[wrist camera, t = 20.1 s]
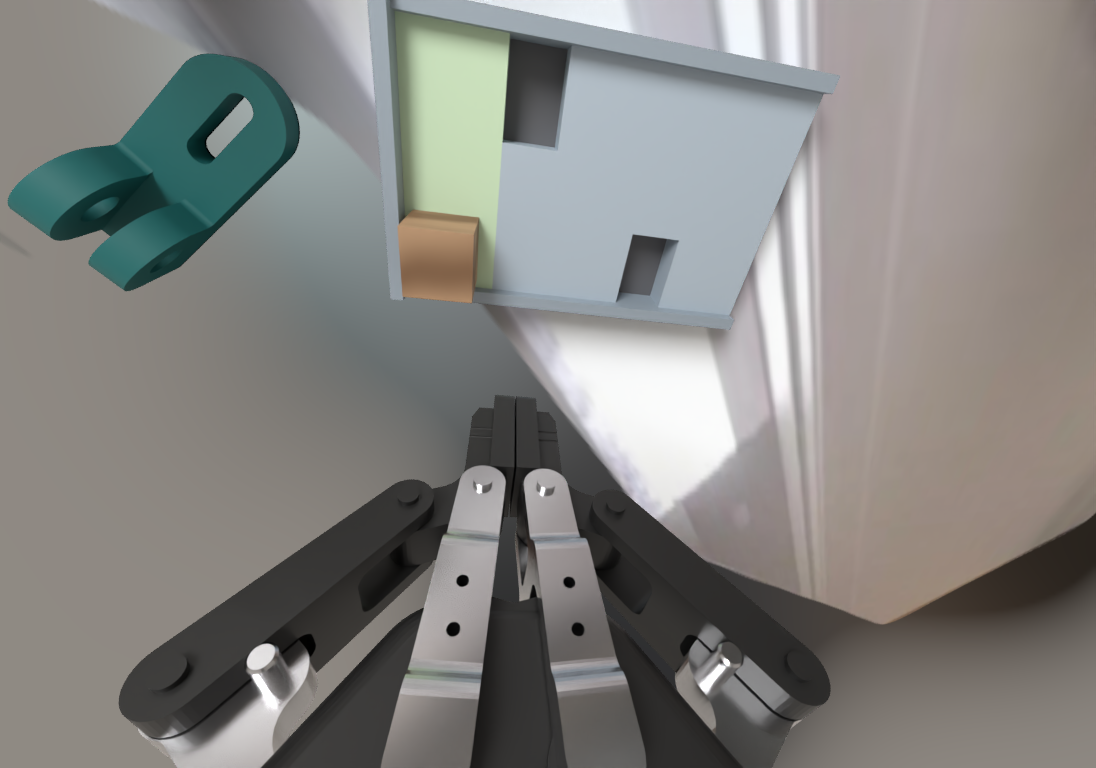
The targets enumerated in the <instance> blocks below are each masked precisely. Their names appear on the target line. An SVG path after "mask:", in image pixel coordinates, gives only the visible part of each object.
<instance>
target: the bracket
mask: <svg viewBox="0 0 1096 768" xmlns="http://www.w3.org/2000/svg"><path fill="white" fill-rule="evenodd" d="M244 97H245V98H246V99H247V100H248V101H249V102H250V104H251V105H252V108H253V112H254V114H253V118H252V120H251V121H250V122H249V123H248V124H247V125H246V127H244V128H243V130H242V131H241V132H240V133H239V134H238V135H237V136H236V137H235V138H234V139H233V140H232V141H231V142H230V144H228V145H227V147H226V148H225V149H224V150H223V151H222V152H221V153H220V154H219V155H218V156H217V157H216V158H215V157H214V156H213V155H212V154H211V153H210V152H209V150H208V148H207V145H206V141H207V138H208V137H209V136H210V135H211V134H212V133H213V131H214V130H215V129H216V128H217V127H218V126H219V125H220V124H221V123H222V122H223V121H224V119H225V118H226V117H227V116H228V115H229V114H230V113H231V112H232V111H233V110H234V108H235V107H236V106H237V105H238V104H239V103H240V102H241V101H242V100H243V98H244ZM299 139H300V126H299V120H298V116H297V113H296V110H295V108H294V105H293V103H292V101H291V100H289V98H288V96H287V95H286V93H285V92H284V90H283V89H282V88H281V86H280V85H279V84H278V83H277V82H276V81H275V80H274V79H273V78H272V77H271V76H270V75H269V74H268V73H267V72H266V71H264V70H263V69H262V68H260V67H258V66H257V65H255V64H253V63H251V62H249V61H247V60H244V59H241V58H237V57H231V56H224V55H218V54H201V55H197V56H194V57H192V58H190V59H189V60H188V61H186V62H185V63H184V64H183V65H182V67H181V68H180V69H179V70H178V72H177V73H176V74H175V75H174V76H173V77H172V79H171V80H170V81H169V82H168V84H167V85H166V86H165V87H164V89H163V90H162V91H161V92H160V93H159V94H158V96H157V97H156V98H155V99H154V101H153V102H152V103H151V104H150V105H149V107H148V108H147V109H146V110H145V112H144V113H143V114H142V115H141V116H140V118H139V119H138V120H137V121H136V122H135V124H134V125H133V126H132V128H130V130H129V131H128V132H127V133H126V134H125V136H124V137H123V138H122V139H121V141H120V142H118V143H117V144H115V145H109V146H100V147H91V148H85V149H79V150H76V151H72V152H69V153H67V154H64V155H61V156H59V157H57V158H55V159H53V160H51V161H49V162H47V163H45V164H43V165H42V166H40V167H38V168H37V169H35V170H34V171H32V172H31V173H30V174H28V175H27V176H26V177H25V178H23V179H22V180H21V181H20V182H19V183H18V184H17V185H16V186H15V188H14V189H13V190H12V192H11V194H10V195H9V198H8V206H9V207H10V209H12V210H13V211H15V212H16V213H17V214H19V215H20V216H21V217H23V218H24V219H26V220H27V221H28V222H30V223H31V224H33V225H34V226H35V227H37V228H38V229H40V230H41V231H42V232H44V233H45V234H46V235H48V236H49V237H51V238H52V239H54V240H59V241H62V240H69V239H73V238H76V237H80V236H83V235H86V234H89V233H92V232H96V231H99V230H103V231H104V232H106V233H107V234H108V235H109V236H111V237H109V238H108V239H107V240H106V241H105V242H104V243H102V244H101V245H100V246H99V247H98V248H97V250H96V251H95V252H94V253H93V254H92V256H91V257H90V260H89V265H90V266H91V267H93V268H94V269H95V270H97V271H98V272H99V273H101V274H102V275H104V276H105V277H106V278H108V279H109V280H110V281H112V282H113V283H115V284H116V285H117V286H119V287H120V288H122V289H123V290H125V291H131V290H134V289H136V288H138V287H141V286H143V285H145V284H146V283H149V282H151V281H153V280H155V279H157V278H159V277H161V276H163V275H165V274H167V273H169V272H171V271H173V270H175V269H177V268H179V267H180V266H182V265H183V264H184V263H185V262H186V261H187V260H188V259H189V258H190V257H191V256H192V255H193V254H194V253H195V252H196V251H197V250H198V249H199V248H200V247H201V246H202V245H203V244H204V243H205V242H206V241H207V240H208V239H209V238H210V237H211V236H212V235H213V234H214V233H215V232H216V231H217V230H218V229H219V228H220V227H221V226H222V225H223V224H224V223H225V222H226V221H227V220H228V219H230V217H231V216H233V215H234V214H235V213H236V212H237V211H238V210H239V209H240V208H241V207H242V206H243V205H244V204H245V203H246V202H247V201H248V200H249V199H250V198H251V197H252V196H253V195H254V194H255V193H256V192H257V191H258V190H259V189H260V188H261V187H262V186H263V185H264V184H265V183H266V182H267V181H268V180H269V179H270V178H271V177H272V176H273V175H274V174H275V173H276V172H277V171H278V170H279V169H280V168H281V167H282V166H283V165H284V164H286V162H287V161H288V160H289V159H291V157H292V156H293V155H294V153H295V152H296V150H297V147H298V144H299Z"/></svg>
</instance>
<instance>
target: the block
mask: <svg viewBox="0 0 1096 768" xmlns="http://www.w3.org/2000/svg"><path fill="white" fill-rule="evenodd" d="M397 227H398V241H399V255H400V269H401V283H402V297H411V298H422V299H432V300H443V301H454V302H464V303H472V300H473V295H474V291H475V286H476V282H477V265H478V237H479V217H471V216H463V215H455V214H446V213H438V212H430V211H422V210H412V211H411V212H410V213H409V214H408V215H407V216H406V217H405V218H404V219H403V220H402V222H401V223H400V224H399V225H398V226H397Z"/></svg>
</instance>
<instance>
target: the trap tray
mask: <svg viewBox="0 0 1096 768" xmlns="http://www.w3.org/2000/svg"><path fill="white" fill-rule="evenodd" d="M368 13H369V26H370V39H371V52H372V64H373V77H374V90H375V103H376V116H377V129H378V142H379V155H380V168H381V181H382V193H383V207H384V220H385V233H386V246H387V259H388V272H389V284H390V297H391V299H394V300H404V298H405V297H402V283H401V269H400V255H399V241H398V227H397V226H398V225H399V224H400V223H401V222H402V220H403V219H404V218H405V217H406V216H407V215H408V214H409V213H410V212H411V211H412V210H422V211H430V212H438V213H446V214H455V215H463V216H471V217H479V237H478V265H477V282H476V286H475V291H474V295H473V300H472V303H481V304H490V305H500V306H509V307H519V308H528V309H538V310H547V311H557V312H566V313H576V314H585V315H595V316H604V317H614V318H623V319H633V320H642V321H652V322H661V323H671V324H680V325H690V326H699V327H709V328H718V329H728V330H730V329H731V326H732V324H733V322H734V319H733V318H732V317H731V316H730V313H731V311H732V308H733V306H734V304H735V301H736V299H737V297H738V294H739V292H740V290H741V287H742V285H743V282H744V280H745V278H746V275H747V273H748V271H749V268H750V266H751V264H752V261H753V259H754V257H755V254H756V252H757V250H758V247H759V245H760V242H761V240H762V238H763V235H764V233H765V231H766V228H767V226H768V224H769V221H770V219H771V217H772V214H773V212H774V210H775V207H776V205H777V202H778V200H779V198H780V195H781V193H782V191H783V188H784V186H785V184H786V181H787V179H788V177H789V174H790V172H791V170H792V167H793V165H794V162H795V160H796V158H797V155H798V153H799V151H800V148H801V146H802V144H803V141H804V139H805V137H806V134H807V132H808V130H809V127H810V125H811V122H812V120H813V118H814V115H815V113H816V111H817V108H818V106H819V104H820V101H821V99H822V97H823V94H833V92H834V90H835V87H836V85H837V83H838V80H839V78H840V76H839V75H834V74H830V73H825V72H820V71H815V70H810V69H805V68H800V67H795V66H790V65H785V64H780V63H775V62H770V61H765V60H760V59H755V58H750V57H745V56H740V55H736V54H731V53H726V52H721V51H716V50H711V49H706V48H701V47H696V46H691V45H686V44H681V43H676V42H671V41H666V40H661V39H656V38H651V37H646V36H642V35H637V34H632V33H627V32H622V31H617V30H612V29H607V28H602V27H597V26H592V25H587V24H582V23H577V22H572V21H567V20H562V19H557V18H552V17H548V16H543V15H538V14H533V13H528V12H523V11H518V10H513V9H508V8H503V7H498V6H493V5H488V4H483V3H478V2H473V1H468V0H368Z"/></svg>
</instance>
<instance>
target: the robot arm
mask: <svg viewBox="0 0 1096 768" xmlns="http://www.w3.org/2000/svg"><path fill="white" fill-rule="evenodd" d="M509 503H510V517H517V529H516V535H515V544H516V556H517V566H518V567H517V568H518V579H519V593H520V601H519V602H508V601H504V600H501V599H498V598H494V597H492V590H493V582H494V574H495V566H496V558H497V550H498V542H499V536H500V535H501V532H502V526H503V518H504V517H508V510H509ZM433 560H436V564H435V567H434V571H433V575H432V579H431V583H430V587H429V590H428V594H427V598H426V603H425V606H424V608H422V609H420V610H418V611H416V612H414V613H412V614H410V615H409V616H408V617H406V618H404V619H403V620H402V621H401V622H399V623H398V624H397V625H396V626H395V627H394V628H392V630H390V631H389V633H387V635H386V636H385V637H384V638H383V639H382V640H381V641H380V642H379V643H378V644H377V645H376V646H375V647H374V648H373V649H372V650H371V652H370V653H369V654H368V655H367V656H366V657H365V658H364V659H363V660H362V661H361V662H360V663H359V664H358V665H357V666H356V667H355V668H354V669H353V671H352V672H351V673H350V674H349V675H348V676H347V677H346V678H345V679H344V680H343V681H342V682H341V683H340V684H339V685H338V686H337V687H336V688H335V690H334V691H333V692H332V693H331V694H330V695H329V696H328V697H327V698H326V699H325V700H324V701H323V702H322V703H321V704H320V705H319V707H318V708H317V709H316V710H315V711H314V712H313V713H312V714H311V715H310V716H309V717H308V718H307V719H306V720H305V721H304V722H303V723H302V724H301V726H300V727H299V728H298V729H297V730H296V731H295V732H294V733H293V734H292V735H291V736H290V737H289V735H290V733H291V731H292V729H293V728H294V726H295V725H296V723H297V722H298V721H299V719H300V718H301V717H302V716H303V714H304V713H305V712H306V711H307V709H308V708H309V706H310V705H311V703H312V701H313V699H314V697H315V694H316V691H317V684H318V679H317V674H316V673H317V672H318V671H319V670H320V669H321V668H322V667H323V666H324V665H325V664H326V663H327V662H329V660H331V659H332V658H333V657H334V656H335V655H336V654H337V653H338V652H339V651H340V650H341V649H342V648H343V647H344V646H346V645H347V644H348V643H349V642H350V641H351V640H352V639H353V638H354V637H355V636H356V635H357V634H358V633H359V632H360V631H361V630H363V629H364V628H365V627H366V626H367V625H368V624H369V623H370V622H371V621H372V620H373V619H374V618H375V617H376V616H378V615H379V614H380V613H381V612H382V611H383V610H384V609H385V608H386V607H387V606H388V605H389V604H390V603H391V602H392V601H393V600H394V599H396V598H397V597H398V596H399V595H400V594H401V593H402V592H403V591H404V590H405V589H406V588H407V587H408V586H409V585H410V584H412V583H413V582H414V581H415V580H416V579H417V578H418V577H419V576H420V575H421V574H422V573H423V572H424V571H425V570H426V569H428V567H429V566H430V565H431V564H432V562H433ZM600 592H601V593H602V594H603V595H604V596H605V597H606V598H607V599H608V600H609V601H610V603H611V604H612V605H613V606H614V607H615V608H616V609H617V610H618V611H619V612H620V613H621V614H622V615H623V616H624V618H625V619H626V620H627V621H628V622H629V623H630V624H631V625H632V626H633V627H634V628H635V629H636V630H637V631H638V633H639V634H640V635H641V636H642V637H643V638H644V639H645V640H646V641H647V642H648V643H649V644H650V645H651V646H652V647H653V648H654V650H655V651H656V652H657V653H658V654H659V655H660V656H661V657H662V658H663V659H664V660H665V661H666V662H667V663H668V665H669V666H670V667H671V668H672V669H673V670H674V671H675V672H676V674H675V681H676V686H677V690H678V691H677V690H676V689H675V688H674V687H673V685H672V684H671V683H670V682H669V681H668V680H667V678H666V677H665V676H664V675H663V674H662V673H661V672H660V670H659V669H658V668H657V667H656V666H655V665H654V663H653V662H652V661H651V660H650V659H649V658H648V656H647V655H646V654H645V653H644V652H643V651H642V650H641V648H640V647H639V646H638V645H637V644H636V643H635V641H634V640H633V639H632V638H631V637H630V636H629V635H628V633H627V632H626V631H625V630H624V629H623V628H622V627H621V626H620V625H619V624H618V623H617V622H616V621H615V620H613V619H612V618H610V617H609V616H608V615H606V613H605V609H604V605H603V601H602V597H601V593H600ZM829 696H830V682H829V678H828V675H827V673H826V671H825V669H824V667H823V665H822V664H821V662H820V661H819V659H818V658H817V657H816V656H815V655H814V654H813V653H812V652H811V651H810V650H809V649H808V648H807V647H806V646H805V645H803V644H802V643H801V642H800V641H799V640H797V639H796V638H795V637H794V636H793V635H792V634H790V633H789V632H788V631H787V630H786V629H785V628H783V627H782V626H781V625H780V624H778V623H777V622H776V621H775V620H774V619H773V618H771V617H770V616H769V615H768V614H767V613H766V612H764V611H763V610H762V609H761V608H760V607H759V606H757V605H756V604H755V603H754V602H753V601H751V600H750V599H749V598H748V597H747V596H746V595H744V594H743V593H742V592H741V591H740V590H738V589H737V588H736V587H735V586H734V585H732V584H731V583H730V582H729V581H728V580H727V579H725V578H724V577H723V576H722V575H721V574H720V573H718V572H717V571H716V570H715V569H714V568H712V567H711V566H710V565H709V564H708V563H707V562H705V561H704V560H703V559H702V558H701V557H699V556H698V555H697V554H696V553H695V552H694V551H692V550H691V549H690V548H689V547H688V546H686V545H685V544H684V543H683V542H682V541H681V540H679V539H678V538H677V537H676V536H675V535H673V534H672V533H671V532H670V531H669V530H667V529H666V528H665V527H664V526H663V525H662V524H660V523H659V522H658V521H657V520H656V519H654V518H653V517H652V516H651V515H650V514H649V513H647V512H646V511H645V510H644V509H643V508H641V507H640V506H639V505H638V504H637V503H636V502H634V501H633V500H632V499H631V498H630V497H628V496H627V495H626V494H624V493H622V492H619V491H615V490H604V491H601V492H599V493H597V494H596V496H595V497H594V496H591V495H587V494H584V493H581V492H579V491H577V490H575V489H573V488H572V487H570V486H569V485H568V484H567V482H566V480H565V479H564V477H563V476H562V471H561V463H560V455H559V447H558V439H557V431H556V423H555V421H554V419H553V418H552V417H551V415H550V414H549V413H548V412H537V409H536V399H535V398H530V397H517V396H516V399H515V397H514V396H503V395H495V401H494V409H492V408H479V409H478V410H477V411H476V413H475V414H474V415H473V416H472V422H471V430H470V437H469V445H468V452H467V459H466V466H465V470H464V473H463V474H462V476H461V477H460V478H459V479H458V480H457V481H455V482H453V483H452V484H449V485H447V486H443V487H439V488H434V489H432V488H431V487H430V486H429V485H428V484H426V483H425V482H422V481H419V480H404V481H400V482H398V483H396V484H394V485H392V486H391V487H390V488H388V489H387V490H385V491H384V492H382V493H381V494H379V495H378V496H376V497H375V498H374V499H372V500H371V501H369V502H368V503H367V504H365V505H364V506H362V507H361V508H359V509H358V510H356V511H355V512H353V513H352V514H350V515H349V516H348V517H346V518H345V519H343V520H342V521H340V522H339V523H338V524H336V525H335V526H333V527H332V528H330V529H329V530H327V531H326V532H324V533H323V534H322V535H320V536H319V537H317V538H316V539H314V540H313V541H311V542H310V543H309V544H307V545H306V546H304V547H303V548H301V549H300V550H298V551H297V552H296V553H294V554H293V555H291V556H290V557H288V558H287V559H286V560H284V561H283V562H281V563H280V564H278V565H277V566H275V567H274V568H273V569H271V570H270V571H268V572H267V573H265V574H264V575H262V576H261V577H260V578H258V579H257V580H255V581H254V582H252V583H251V584H249V585H248V586H246V587H245V588H244V589H242V590H241V591H239V592H238V593H237V594H235V595H234V596H232V597H231V598H229V599H228V600H226V601H225V602H223V603H222V604H221V605H219V606H218V607H216V608H215V609H213V610H212V611H211V612H209V613H208V614H206V615H205V616H203V617H202V618H200V619H199V620H198V621H196V622H195V623H193V624H192V625H190V626H189V627H187V628H186V629H185V630H183V631H182V632H180V633H179V634H177V635H176V636H174V637H173V638H172V639H170V640H169V641H167V642H166V643H164V644H163V645H161V646H160V647H159V648H157V649H156V650H154V651H153V652H151V653H150V654H149V655H147V656H146V657H145V658H144V659H143V660H142V661H141V662H140V663H139V664H138V665H137V666H136V667H135V668H134V669H133V671H132V672H131V673H130V675H129V676H128V678H127V679H126V681H125V683H124V685H123V687H122V689H121V692H120V696H119V708H120V711H121V713H122V714H123V715H124V716H125V717H126V718H127V719H128V720H129V721H130V722H132V723H133V724H134V725H135V726H136V727H137V728H138V731H139V733H140V734H141V735H142V736H143V737H144V738H145V739H146V740H148V741H149V742H150V743H151V744H152V745H154V746H155V747H156V748H157V749H158V750H160V751H161V752H162V753H163V754H164V755H166V756H168V757H170V758H171V759H172V760H173V762H174V764H175V765H176V767H177V768H772V767H773V765H774V763H775V761H776V758H777V756H778V754H779V752H780V750H781V748H782V746H783V744H784V741H785V739H786V737H787V735H788V733H789V731H790V729H791V728H792V727H793V726H794V725H796V724H797V723H798V722H800V721H801V720H802V719H804V718H805V717H806V716H808V715H809V714H811V713H812V712H813V711H814V710H816V709H817V708H818V707H820V706H821V705H822V704H824V703H825V702H826V701H827V700H828V698H829Z"/></svg>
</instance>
